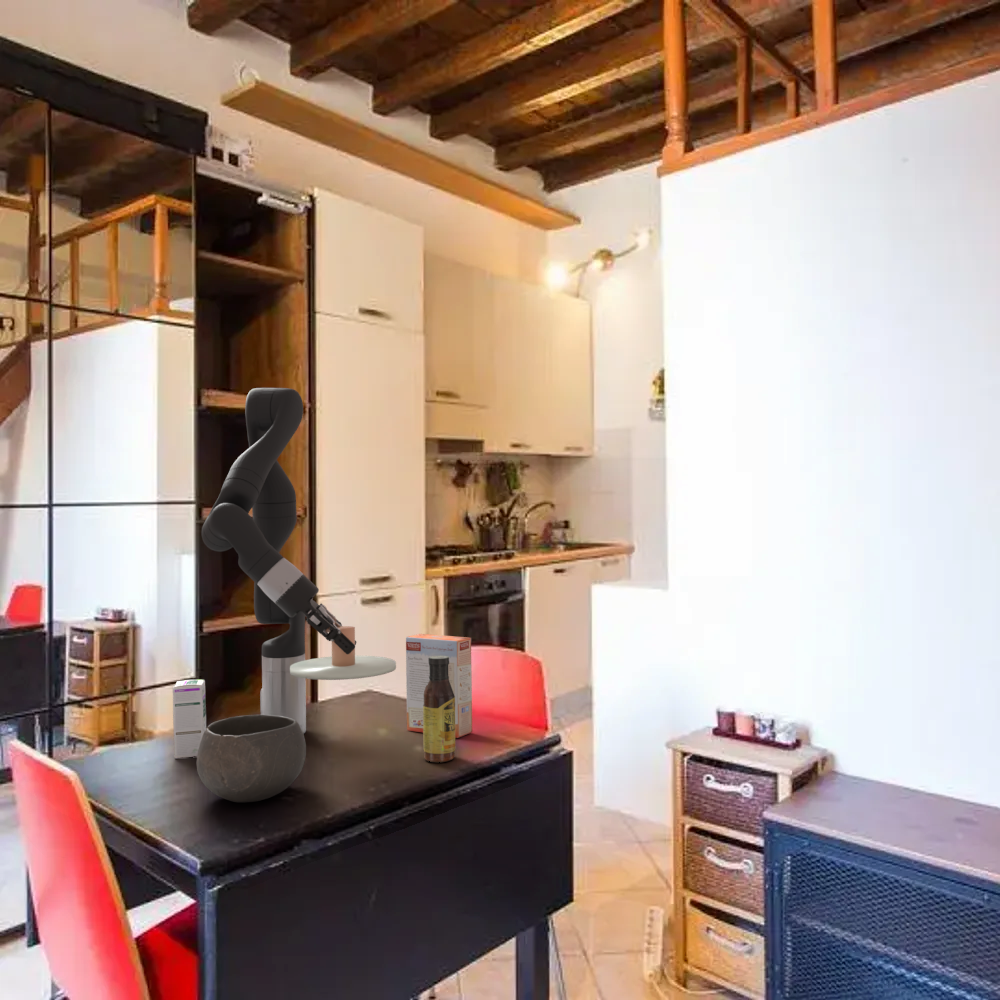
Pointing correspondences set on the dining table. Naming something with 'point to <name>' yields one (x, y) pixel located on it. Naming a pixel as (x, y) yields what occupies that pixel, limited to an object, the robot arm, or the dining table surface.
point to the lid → (343, 664)
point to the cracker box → (458, 673)
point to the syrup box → (188, 716)
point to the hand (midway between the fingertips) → (352, 648)
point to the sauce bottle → (439, 713)
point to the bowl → (251, 756)
